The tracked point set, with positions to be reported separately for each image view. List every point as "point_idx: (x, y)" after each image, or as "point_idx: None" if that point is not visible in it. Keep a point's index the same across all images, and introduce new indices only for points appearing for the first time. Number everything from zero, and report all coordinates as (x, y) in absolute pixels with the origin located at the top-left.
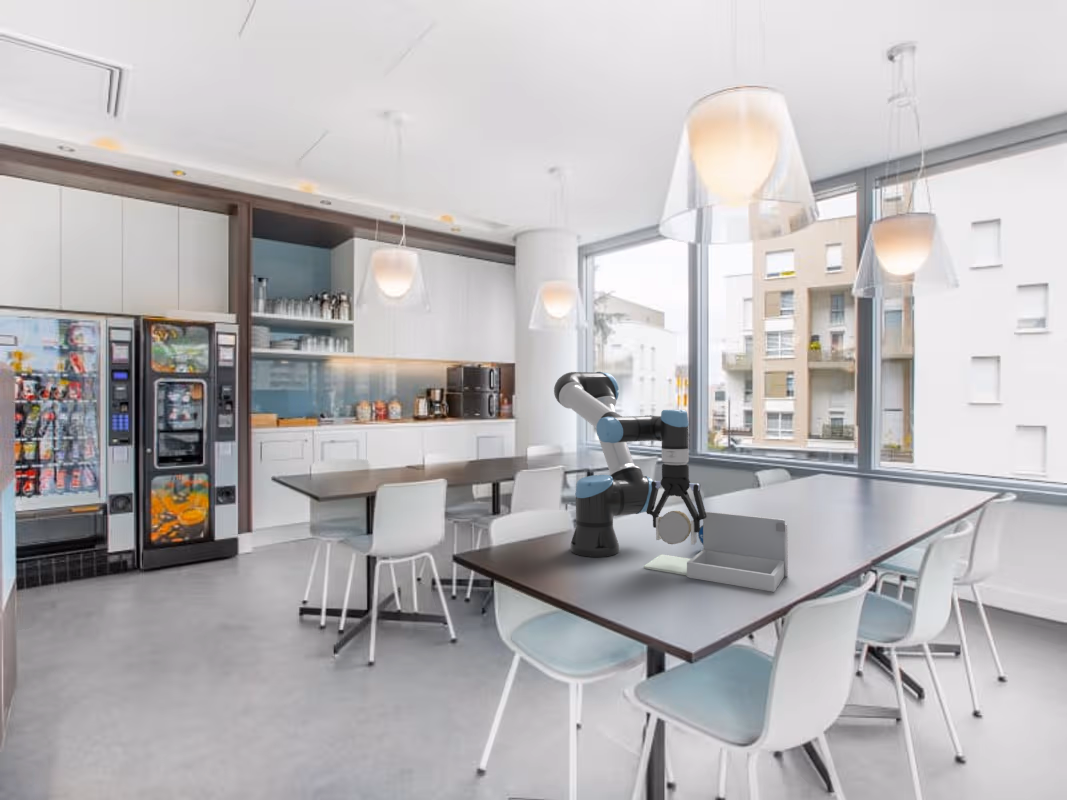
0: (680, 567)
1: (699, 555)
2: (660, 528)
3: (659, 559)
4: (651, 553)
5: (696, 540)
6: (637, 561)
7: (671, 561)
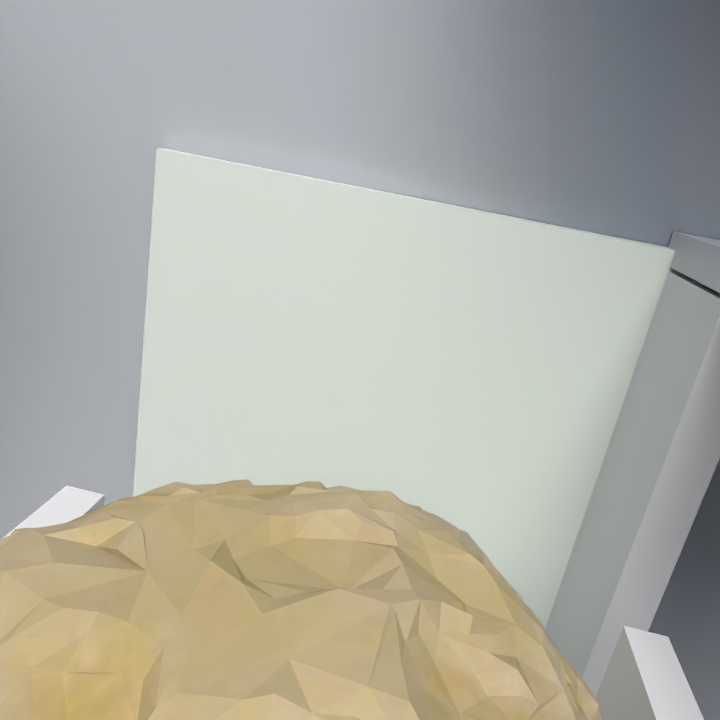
0: None
1: (657, 598)
2: None
3: (195, 364)
4: (39, 61)
5: (677, 671)
6: (24, 412)
7: (322, 397)
